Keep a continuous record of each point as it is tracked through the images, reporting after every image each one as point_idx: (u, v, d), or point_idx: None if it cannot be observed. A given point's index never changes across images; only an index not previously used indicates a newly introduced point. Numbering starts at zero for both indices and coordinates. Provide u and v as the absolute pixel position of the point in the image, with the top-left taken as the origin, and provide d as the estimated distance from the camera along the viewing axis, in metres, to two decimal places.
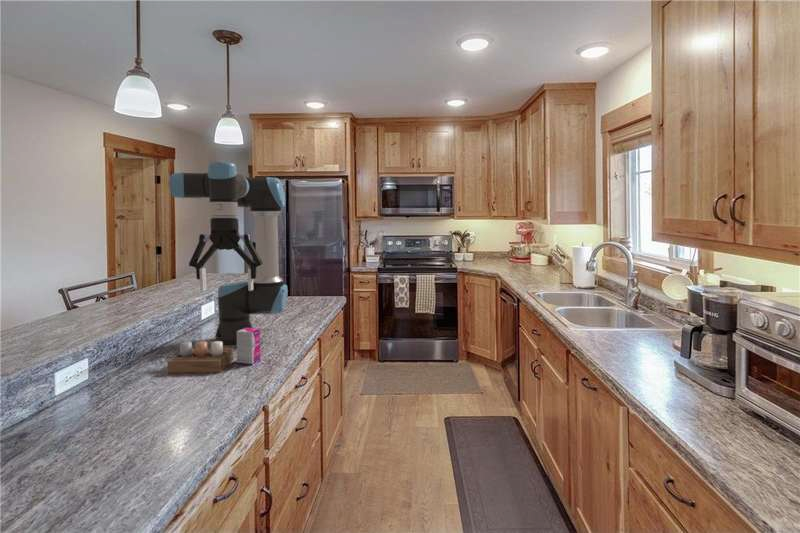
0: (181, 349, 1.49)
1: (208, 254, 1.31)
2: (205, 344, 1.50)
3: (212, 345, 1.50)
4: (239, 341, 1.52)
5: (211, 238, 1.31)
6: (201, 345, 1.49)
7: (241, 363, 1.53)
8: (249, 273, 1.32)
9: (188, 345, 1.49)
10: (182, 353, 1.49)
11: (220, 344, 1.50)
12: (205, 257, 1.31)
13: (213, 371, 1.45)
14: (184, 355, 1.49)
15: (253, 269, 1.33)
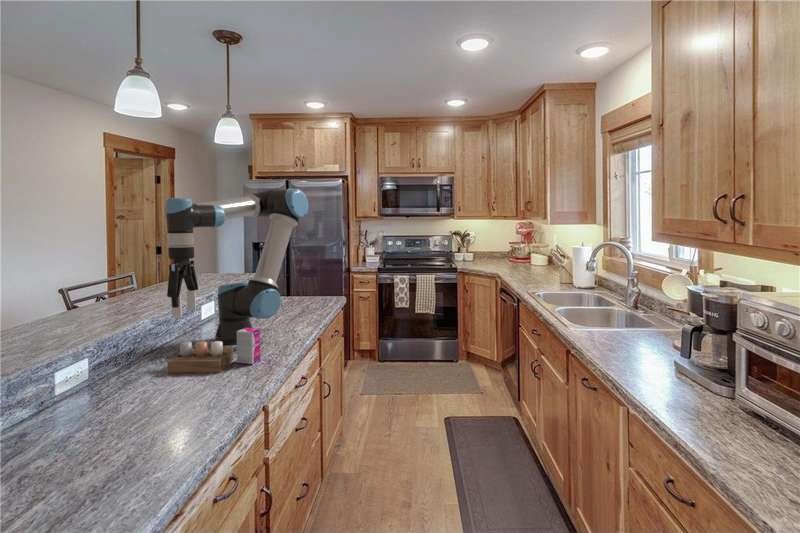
0: (181, 349, 1.49)
1: None
2: (205, 344, 1.50)
3: (212, 345, 1.50)
4: (239, 341, 1.52)
5: None
6: (201, 345, 1.49)
7: (241, 363, 1.53)
8: None
9: (188, 345, 1.49)
10: (182, 353, 1.49)
11: (220, 344, 1.50)
12: None
13: (213, 371, 1.45)
14: (184, 355, 1.49)
15: None
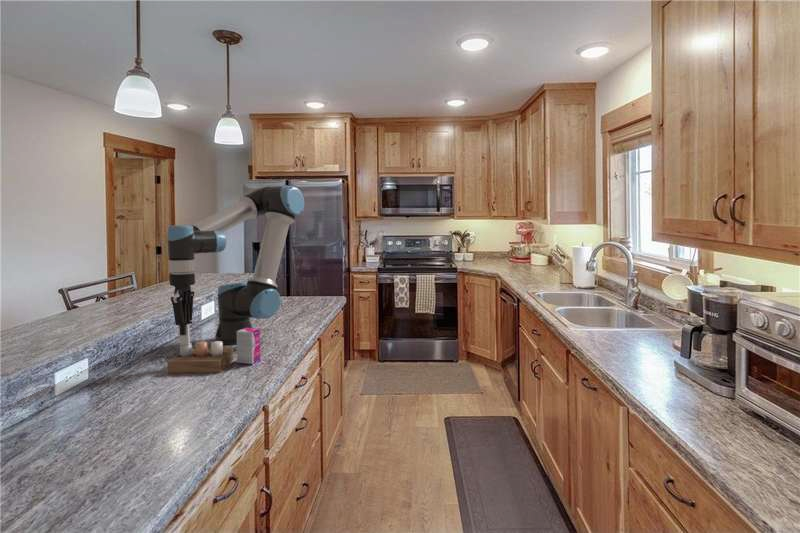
0: (181, 351, 1.49)
1: None
2: (205, 344, 1.50)
3: (212, 345, 1.50)
4: (239, 341, 1.52)
5: None
6: (201, 345, 1.49)
7: (241, 363, 1.53)
8: None
9: (188, 347, 1.50)
10: (182, 355, 1.49)
11: (220, 344, 1.50)
12: None
13: (213, 371, 1.45)
14: None
15: None
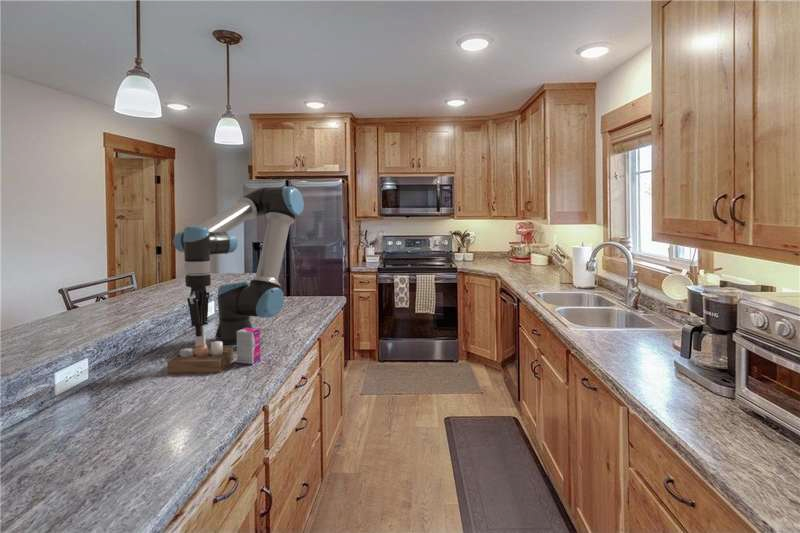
0: (181, 356, 1.49)
1: None
2: (205, 347, 1.50)
3: (212, 345, 1.50)
4: (239, 341, 1.52)
5: None
6: (201, 348, 1.49)
7: (241, 363, 1.53)
8: None
9: (188, 352, 1.50)
10: None
11: (220, 344, 1.50)
12: None
13: (213, 371, 1.45)
14: None
15: None
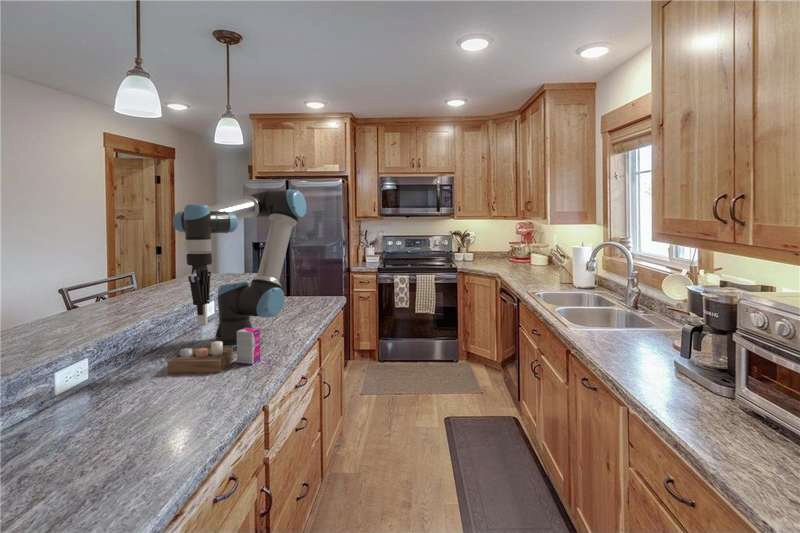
0: (181, 356, 1.49)
1: None
2: (205, 351, 1.51)
3: (212, 345, 1.50)
4: (239, 341, 1.52)
5: None
6: (201, 352, 1.50)
7: (241, 363, 1.53)
8: None
9: (188, 352, 1.50)
10: None
11: (220, 344, 1.50)
12: None
13: (213, 371, 1.45)
14: None
15: None
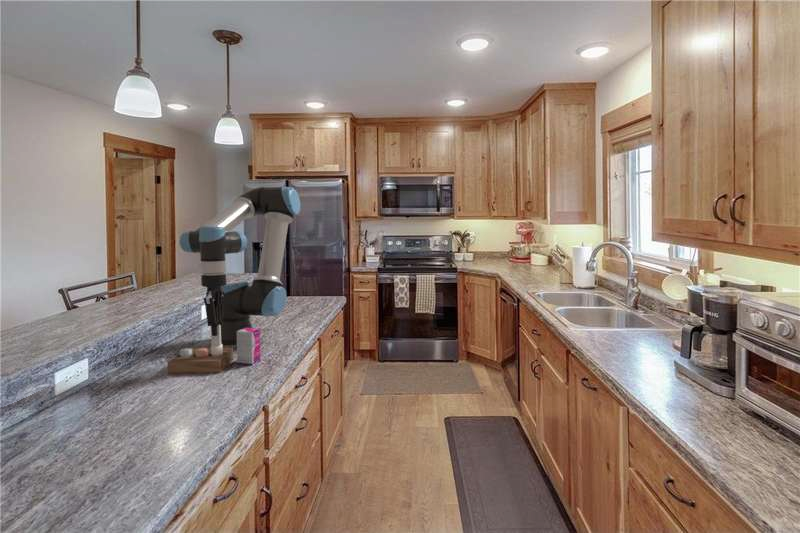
0: (181, 356, 1.49)
1: None
2: (205, 351, 1.51)
3: (212, 348, 1.50)
4: (239, 341, 1.52)
5: None
6: (201, 352, 1.50)
7: (241, 363, 1.53)
8: None
9: (188, 352, 1.50)
10: None
11: (220, 347, 1.50)
12: None
13: (213, 371, 1.45)
14: None
15: None
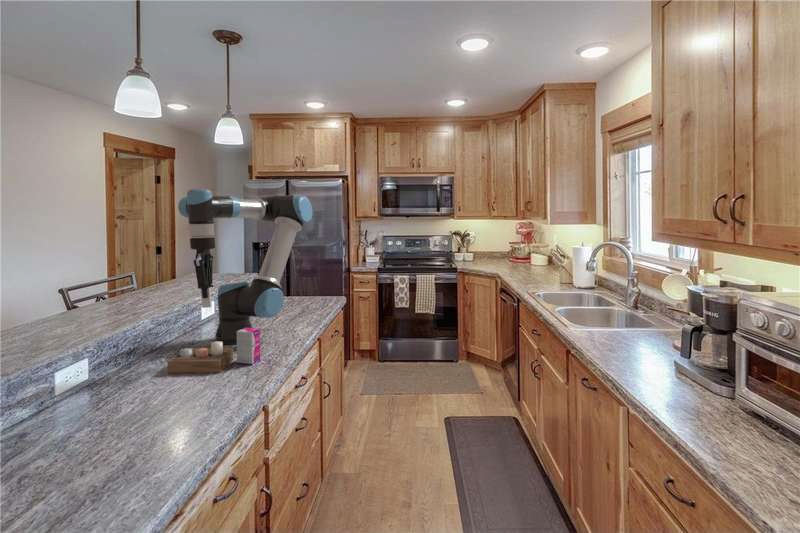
0: (181, 356, 1.49)
1: None
2: (205, 351, 1.51)
3: (212, 345, 1.50)
4: (239, 341, 1.52)
5: None
6: (201, 352, 1.50)
7: (241, 363, 1.53)
8: (201, 292, 1.52)
9: (188, 352, 1.50)
10: None
11: (220, 344, 1.50)
12: None
13: (213, 371, 1.45)
14: None
15: None
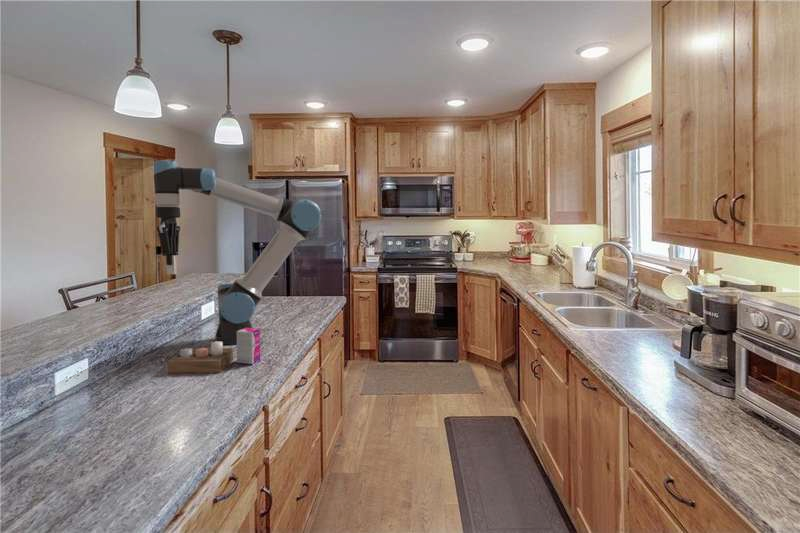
0: (181, 356, 1.49)
1: None
2: (205, 351, 1.51)
3: (212, 345, 1.50)
4: (239, 341, 1.52)
5: None
6: (201, 352, 1.50)
7: (241, 363, 1.53)
8: None
9: (188, 352, 1.50)
10: None
11: (220, 344, 1.50)
12: None
13: (213, 371, 1.45)
14: None
15: None
